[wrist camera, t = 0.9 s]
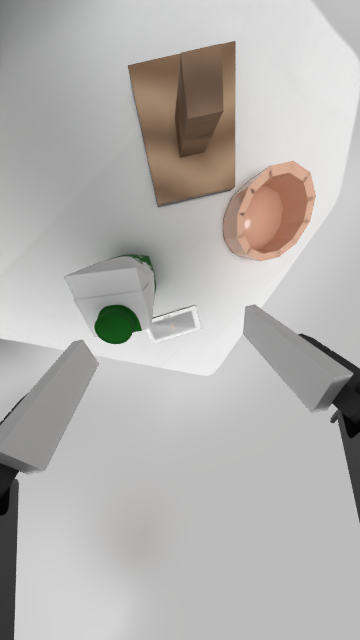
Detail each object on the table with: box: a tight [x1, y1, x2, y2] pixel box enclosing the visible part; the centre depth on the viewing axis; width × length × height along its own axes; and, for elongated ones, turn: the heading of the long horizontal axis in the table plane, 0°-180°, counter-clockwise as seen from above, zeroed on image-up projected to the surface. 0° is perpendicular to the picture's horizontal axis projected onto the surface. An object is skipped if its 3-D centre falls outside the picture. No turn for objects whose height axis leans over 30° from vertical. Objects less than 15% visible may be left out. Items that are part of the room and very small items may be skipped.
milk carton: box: [64, 255, 156, 344], centre depth 23 cm, size 9×9×20 cm
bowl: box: [223, 161, 316, 261], centre depth 26 cm, size 13×13×6 cm
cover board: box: [128, 41, 235, 206], centre depth 18 cm, size 14×14×9 cm
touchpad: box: [145, 306, 201, 344], centre depth 39 cm, size 8×15×2 cm, turn 106°
